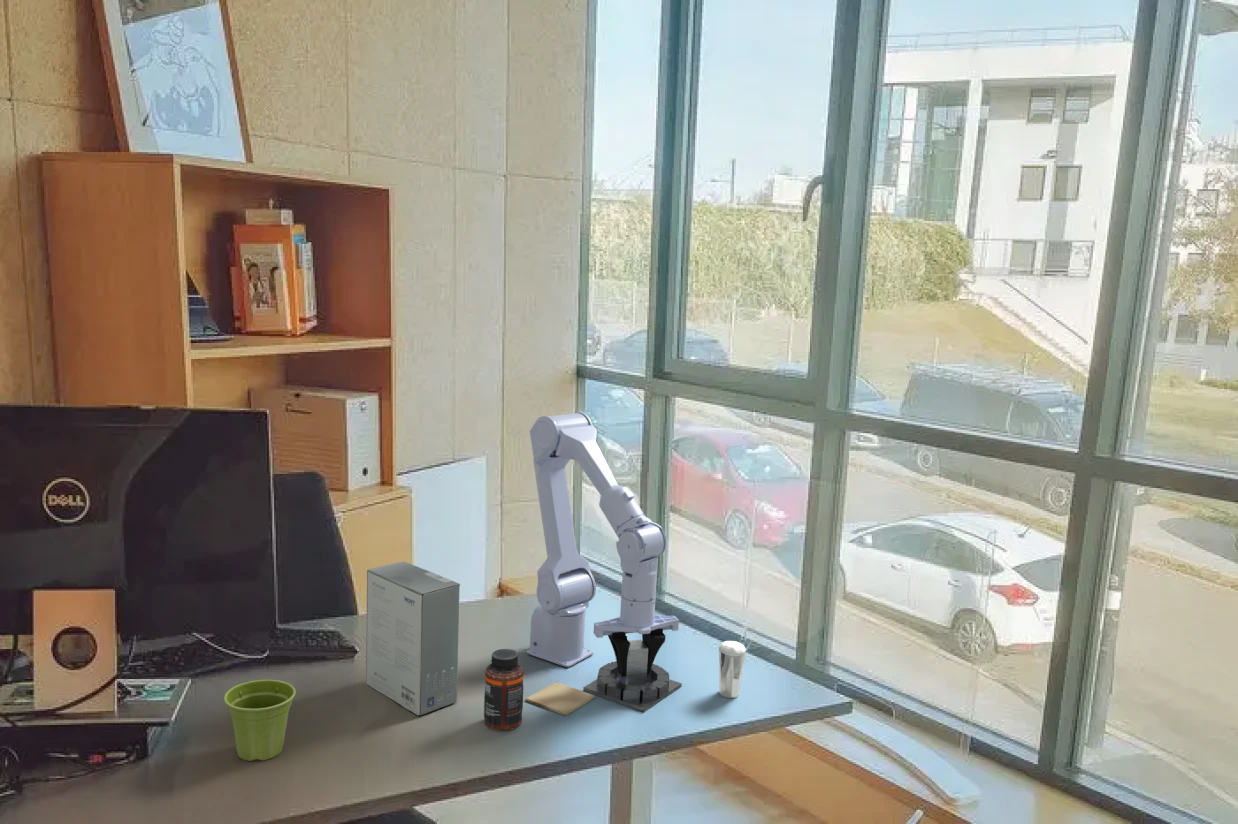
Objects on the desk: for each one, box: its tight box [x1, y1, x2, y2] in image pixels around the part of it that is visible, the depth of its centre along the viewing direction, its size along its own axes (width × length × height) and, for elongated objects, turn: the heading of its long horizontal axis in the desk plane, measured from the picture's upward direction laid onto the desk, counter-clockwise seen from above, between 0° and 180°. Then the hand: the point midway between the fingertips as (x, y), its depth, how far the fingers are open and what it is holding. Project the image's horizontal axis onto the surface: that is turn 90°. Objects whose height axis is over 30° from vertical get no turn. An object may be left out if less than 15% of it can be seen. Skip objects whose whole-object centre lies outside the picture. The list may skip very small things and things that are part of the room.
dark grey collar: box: [582, 660, 683, 713], centre depth 161 cm, size 12×12×2 cm
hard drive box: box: [365, 560, 461, 716], centre depth 154 cm, size 16×8×20 cm, turn 47°
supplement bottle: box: [483, 648, 525, 731], centre depth 146 cm, size 6×6×11 cm
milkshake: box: [718, 639, 753, 699], centre depth 160 cm, size 4×5×10 cm
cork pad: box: [525, 681, 596, 716], centre depth 156 cm, size 8×8×1 cm
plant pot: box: [223, 679, 297, 762], centre depth 135 cm, size 9×9×9 cm
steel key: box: [619, 639, 648, 686], centre depth 161 cm, size 4×4×7 cm
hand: (633, 672), depth 161 cm, fingers closed on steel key, 4 cm apart
